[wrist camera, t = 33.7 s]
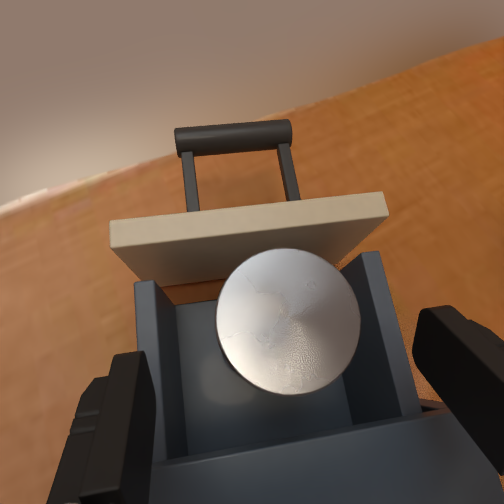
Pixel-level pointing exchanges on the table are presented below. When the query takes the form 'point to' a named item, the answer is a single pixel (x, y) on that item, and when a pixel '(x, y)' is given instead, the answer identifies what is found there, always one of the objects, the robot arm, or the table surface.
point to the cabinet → (341, 467)
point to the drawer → (202, 313)
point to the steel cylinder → (287, 322)
